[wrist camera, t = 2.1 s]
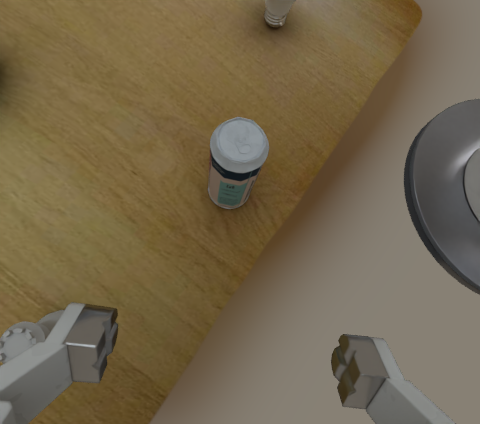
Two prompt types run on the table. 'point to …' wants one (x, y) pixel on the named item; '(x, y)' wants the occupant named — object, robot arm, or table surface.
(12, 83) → the table surface
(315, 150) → the table surface
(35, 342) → the rook chess piece
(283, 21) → the light bulb
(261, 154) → the beer can
